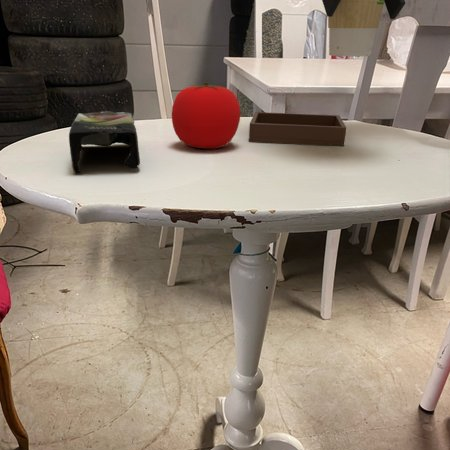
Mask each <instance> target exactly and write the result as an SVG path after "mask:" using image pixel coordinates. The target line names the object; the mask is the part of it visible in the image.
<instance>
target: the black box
mask: <svg viewBox="0 0 450 450" xmlns="http://www.w3.org/2000/svg"><path fill="white" fill-rule="evenodd" d="M68 143H69V151H70V152H69V153H70V157H71V166H72V170H73V172H74V174H79V173H82V171H80V170H79V161H80V160H81V152H82V151H84V147H83V146H98V147H110V146H112V145H114V144H123V145H126V146H129V147H130V150H129V155H127V156H126V158H125V160H124V161H123V167H124V168H125V167H126V168H129V169H139V166H140V165H141V158H140V150H139V140H138V132H137V127H136V125H135V118H134V117H133V114H132V112H124V111H122V112H120V111H119V112H113V111H110V110H108V111H100V112H87V113H77V115H76V117H75V118H74V121H73V122H72V124H71V125H70V129H69V133H68Z"/></svg>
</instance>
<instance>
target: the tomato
mask: <svg viewBox="0 0 450 450" xmlns="http://www.w3.org/2000/svg"><path fill="white" fill-rule="evenodd" d="M203 83H204V84H203V85H201V84H199V85H198V84H195V85H194V84H193V85H192V84H191V85H189V84H188V85H186V86H188V87H185V88H183V89H181V90H180V91H179V92H178V93H177V95H176V96H175V98H174V101H173V104H172V107H171V122H172V128H173V130H174V134H175V135H176V136H177V138H178V139H179V140H180V141H181V142H182V143H184V144H185V145H187V146H190V147H192V148H196V149H205V150H206V149H207V150H214V149H220V148H222V147H224V146H226V145H227V144H229V143H230V142H231V141H232V140H233V138H234V137H235V136H236V133H237V131H238V129H239V125H240V121H241V115H242V114H241V105H240V103H239V100H238V97H237V96H236V94H235V93H234V92H233V91H232V90H230V89H228V88H227V87H225V86H222V85H216V84H215V85H213V84H209V82H207V81H205V82H203Z"/></svg>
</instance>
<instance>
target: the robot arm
mask: <svg viewBox="0 0 450 450" xmlns="http://www.w3.org/2000/svg"><path fill="white" fill-rule="evenodd" d="M321 1H322V4H323V8H324V11H325V15H326V17H327V18H328V17H332V16H333V14H334V12H335V10H336V8H337V6H338V4H339V3H340V1H341V0H321ZM384 5H385V8H386V11H387V13H388V16H389V19H390V20H395V19H396V18H397V17H398V15H399V14H400V12H401V11H402V10H403V8H404V7H405V5H406V1H405V0H385V1H384Z"/></svg>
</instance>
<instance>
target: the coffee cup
mask: <svg viewBox="0 0 450 450" xmlns="http://www.w3.org/2000/svg"><path fill="white" fill-rule="evenodd" d="M384 1H385V0H341V1H340V3H339V4H338V6H337V8H336V10H335V12H334V14H333V16H332V17H327V27H328V35H329V36H328V55H329V56H332V57H349V58H352V57H353V58H355V57H356V58H357V57H358V58H359V57H362V58H363V57H370V56H371V54H372V50H373V46H374V42H375V37H376V34H377V29H378V28H379V25H380V20H381V17H382V13H383V8H384V5H385V2H384Z"/></svg>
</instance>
